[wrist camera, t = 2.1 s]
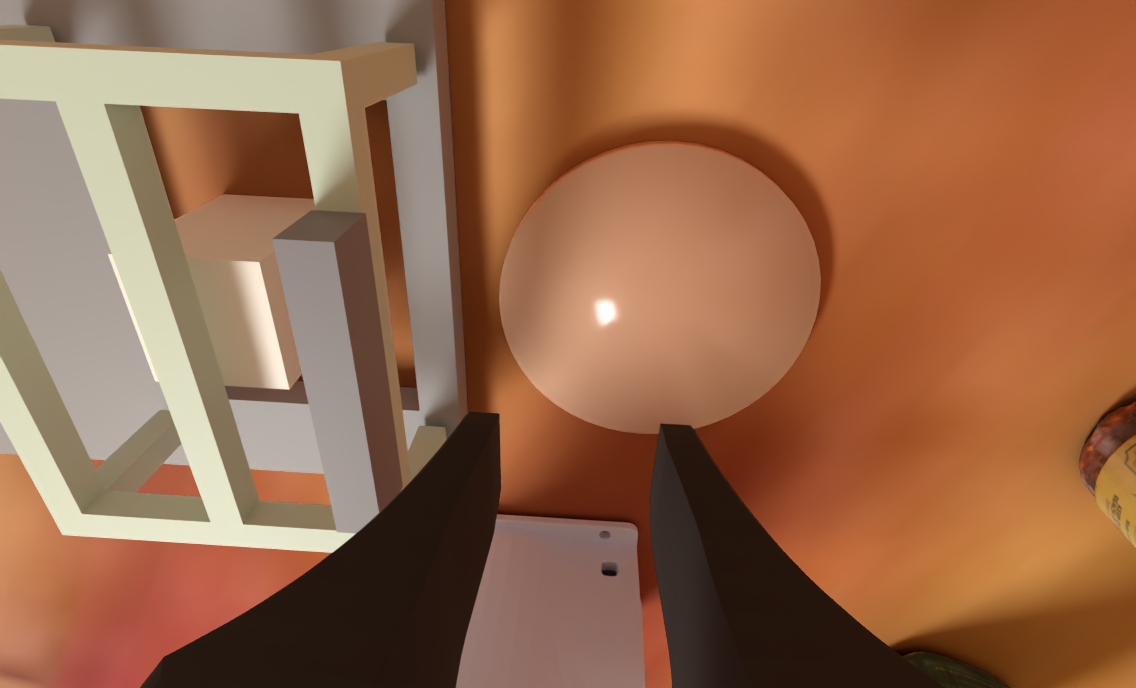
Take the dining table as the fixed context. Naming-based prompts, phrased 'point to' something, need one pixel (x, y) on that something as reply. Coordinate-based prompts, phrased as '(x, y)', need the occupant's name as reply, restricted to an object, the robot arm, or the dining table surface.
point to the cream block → (241, 286)
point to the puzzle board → (80, 251)
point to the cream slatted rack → (173, 313)
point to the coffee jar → (952, 671)
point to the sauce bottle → (1113, 468)
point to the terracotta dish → (659, 287)
